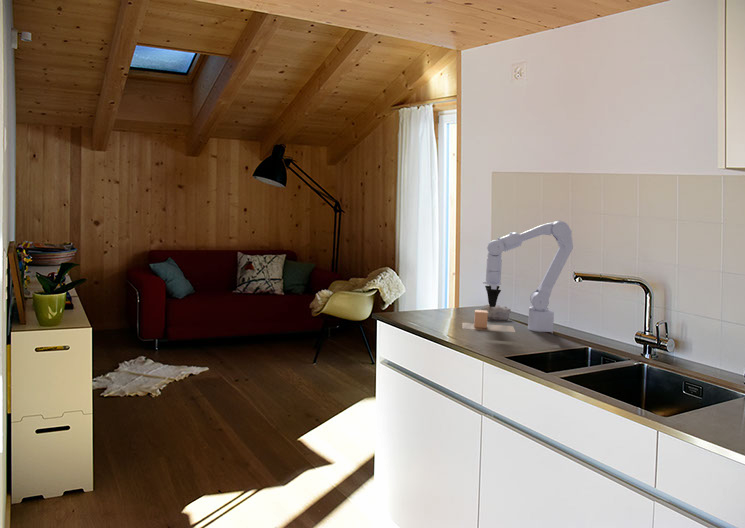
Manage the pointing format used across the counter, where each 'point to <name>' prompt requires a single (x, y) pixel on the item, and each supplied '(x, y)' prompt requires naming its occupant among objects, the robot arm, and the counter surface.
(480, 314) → the light orange block
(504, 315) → the stone
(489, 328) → the board
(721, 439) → the counter surface
